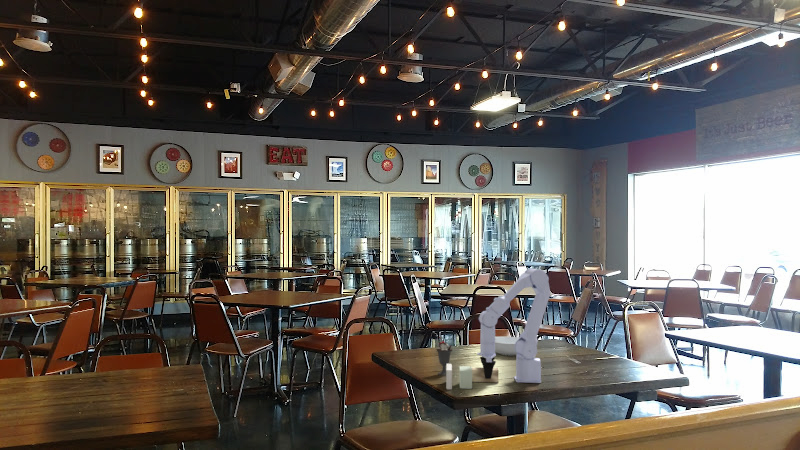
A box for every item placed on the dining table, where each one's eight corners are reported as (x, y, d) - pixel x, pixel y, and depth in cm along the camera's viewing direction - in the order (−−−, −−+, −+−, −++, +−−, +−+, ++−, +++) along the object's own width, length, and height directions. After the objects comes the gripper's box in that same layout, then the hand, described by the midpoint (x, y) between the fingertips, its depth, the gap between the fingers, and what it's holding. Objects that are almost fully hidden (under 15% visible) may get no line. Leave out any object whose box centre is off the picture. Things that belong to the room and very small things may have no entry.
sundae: (433, 372, 238) (433, 336, 238) (447, 371, 240) (448, 335, 240) (439, 376, 232) (440, 339, 232) (454, 375, 234) (455, 338, 234)
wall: (451, 381, 223) (451, 363, 223) (451, 389, 212) (451, 370, 212) (446, 381, 223) (446, 363, 224) (446, 389, 212) (446, 370, 213)
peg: (497, 379, 226) (497, 367, 226) (498, 382, 222) (498, 370, 222) (466, 378, 227) (466, 367, 227) (467, 381, 223) (467, 369, 223)
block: (471, 383, 221) (471, 366, 221) (472, 388, 213) (472, 371, 213) (459, 382, 222) (459, 366, 222) (459, 388, 213) (460, 371, 214)
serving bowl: (536, 352, 282) (536, 338, 282) (521, 360, 264) (521, 345, 264) (496, 348, 293) (497, 334, 293) (479, 355, 275) (479, 340, 275)
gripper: (476, 338, 232) (476, 372, 232) (478, 345, 218) (478, 381, 218) (494, 338, 232) (494, 372, 232) (497, 345, 217) (497, 381, 217)
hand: (487, 377), depth 225 cm, fingers closed on peg, 4 cm apart
